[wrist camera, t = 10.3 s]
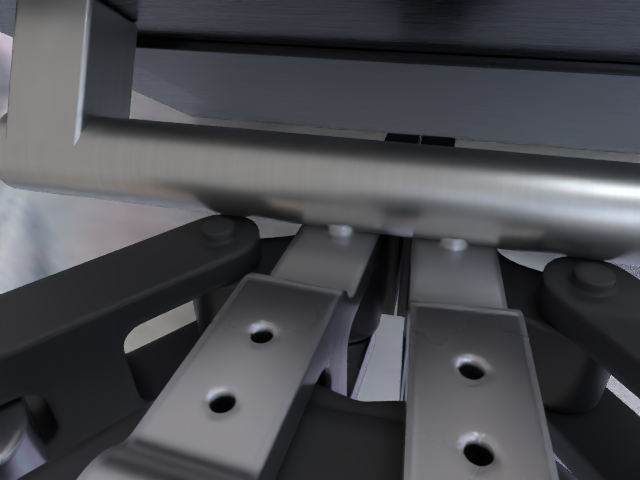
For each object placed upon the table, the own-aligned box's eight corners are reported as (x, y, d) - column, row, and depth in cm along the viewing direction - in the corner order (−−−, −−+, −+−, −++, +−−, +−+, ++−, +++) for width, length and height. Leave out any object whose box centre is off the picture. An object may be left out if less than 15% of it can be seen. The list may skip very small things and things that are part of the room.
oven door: (707, 263, 17) (1513, 381, 4) (182, 200, 20) (-211, 165, 8) (731, 109, 16) (1670, -245, 4) (195, 74, 20) (-192, -168, 8)
